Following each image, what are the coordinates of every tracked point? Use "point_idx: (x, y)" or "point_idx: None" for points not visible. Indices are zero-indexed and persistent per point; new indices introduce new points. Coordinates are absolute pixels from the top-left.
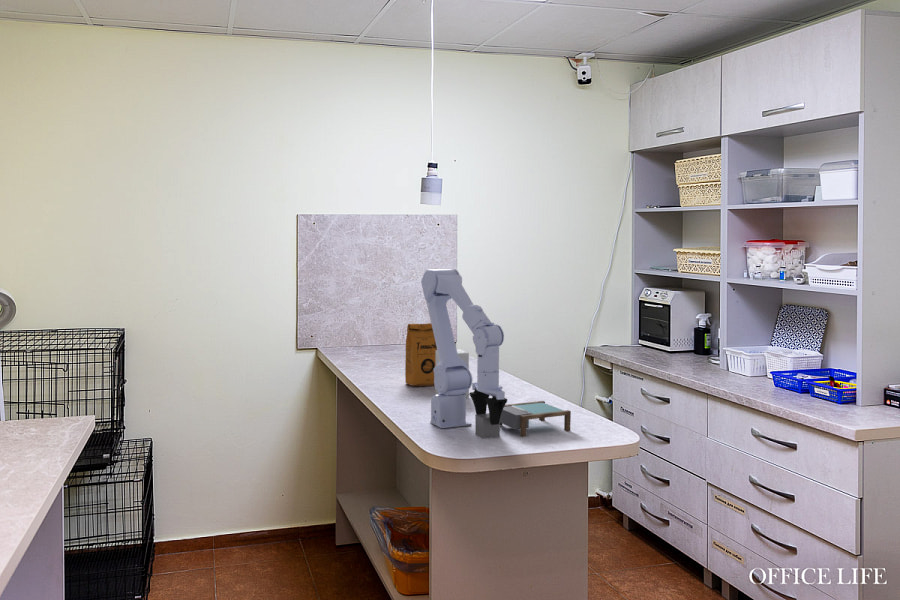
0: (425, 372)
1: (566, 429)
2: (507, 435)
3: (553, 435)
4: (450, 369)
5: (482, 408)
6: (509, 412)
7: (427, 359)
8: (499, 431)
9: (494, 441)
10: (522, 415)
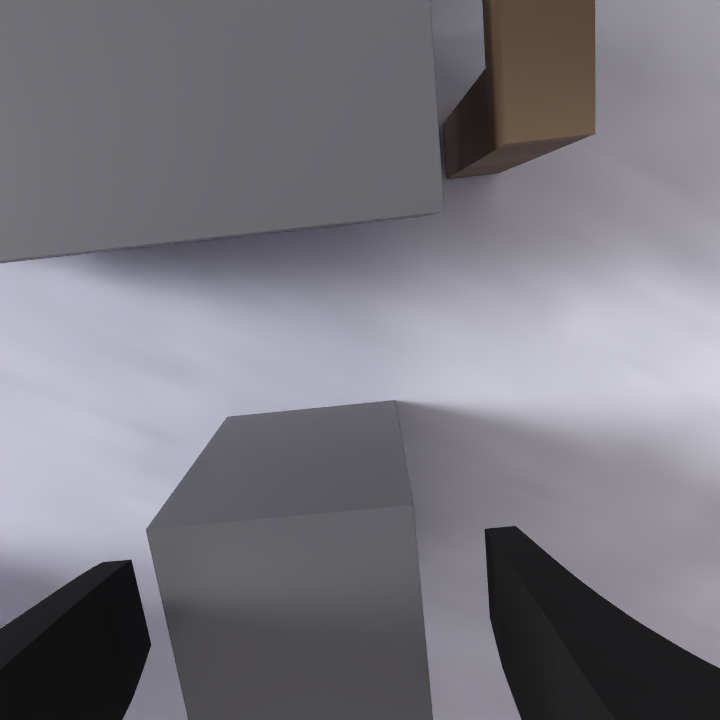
0: None
1: None
2: (381, 306)
3: None
4: None
5: (58, 704)
6: (193, 238)
7: None
8: (398, 421)
9: (542, 512)
10: (516, 99)
